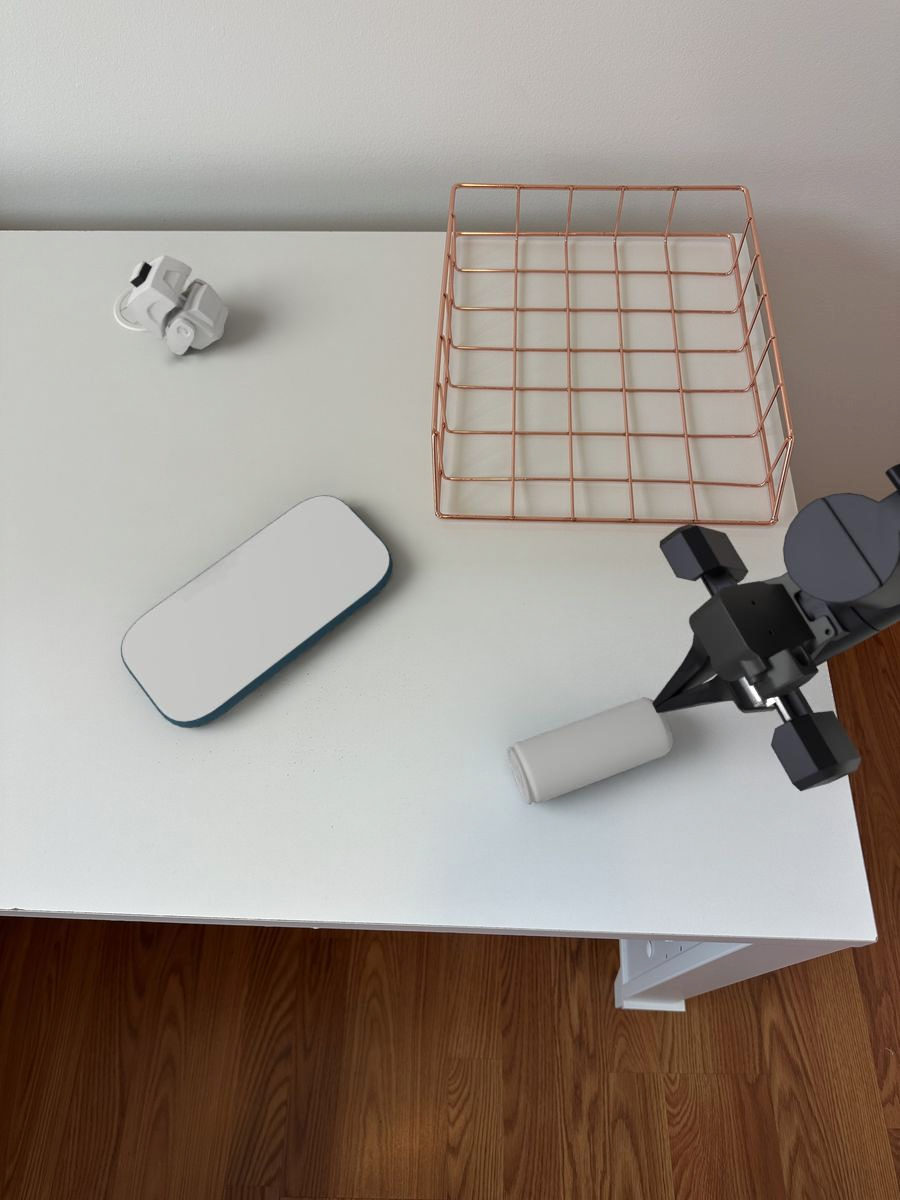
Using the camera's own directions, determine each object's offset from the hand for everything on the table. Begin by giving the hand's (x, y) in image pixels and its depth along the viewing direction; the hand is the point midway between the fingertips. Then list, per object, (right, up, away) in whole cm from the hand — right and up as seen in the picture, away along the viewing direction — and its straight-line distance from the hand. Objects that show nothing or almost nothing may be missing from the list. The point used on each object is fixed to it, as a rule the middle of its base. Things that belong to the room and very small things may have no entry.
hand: (657, 708), depth 60 cm
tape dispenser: (-42, +35, +27) cm, 61 cm away
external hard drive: (-31, +7, +13) cm, 35 cm away
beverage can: (+2, -2, +5) cm, 6 cm away
